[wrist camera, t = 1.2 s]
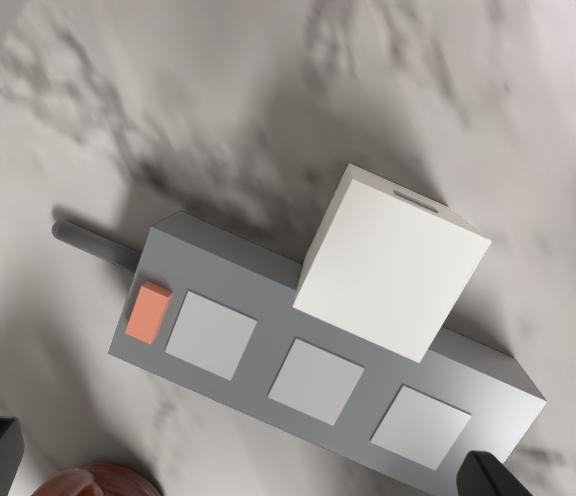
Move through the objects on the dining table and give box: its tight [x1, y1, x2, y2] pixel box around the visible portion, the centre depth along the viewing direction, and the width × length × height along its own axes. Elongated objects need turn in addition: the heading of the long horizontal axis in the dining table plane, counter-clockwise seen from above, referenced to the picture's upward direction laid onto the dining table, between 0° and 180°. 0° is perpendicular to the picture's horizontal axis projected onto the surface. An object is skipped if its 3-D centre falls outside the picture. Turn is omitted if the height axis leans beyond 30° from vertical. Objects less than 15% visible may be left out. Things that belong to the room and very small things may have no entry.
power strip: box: [52, 211, 547, 496], centre depth 21 cm, size 24×6×4 cm, turn 67°
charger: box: [292, 163, 492, 363], centre depth 19 cm, size 5×8×6 cm, turn 157°
